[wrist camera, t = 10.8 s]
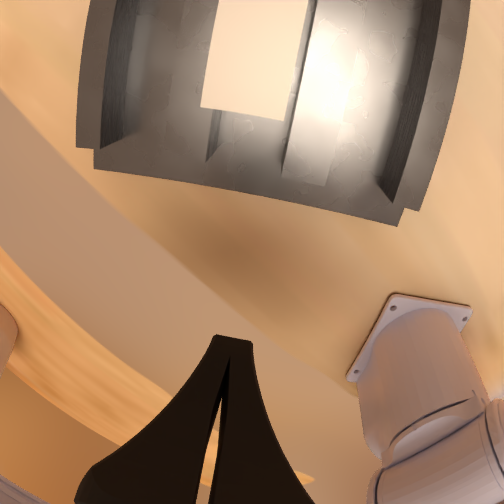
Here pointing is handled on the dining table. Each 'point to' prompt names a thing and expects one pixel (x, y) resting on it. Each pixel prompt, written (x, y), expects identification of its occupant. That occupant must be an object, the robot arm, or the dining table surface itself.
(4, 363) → the cup
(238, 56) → the tall beige block
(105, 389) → the dining table surface
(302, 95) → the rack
